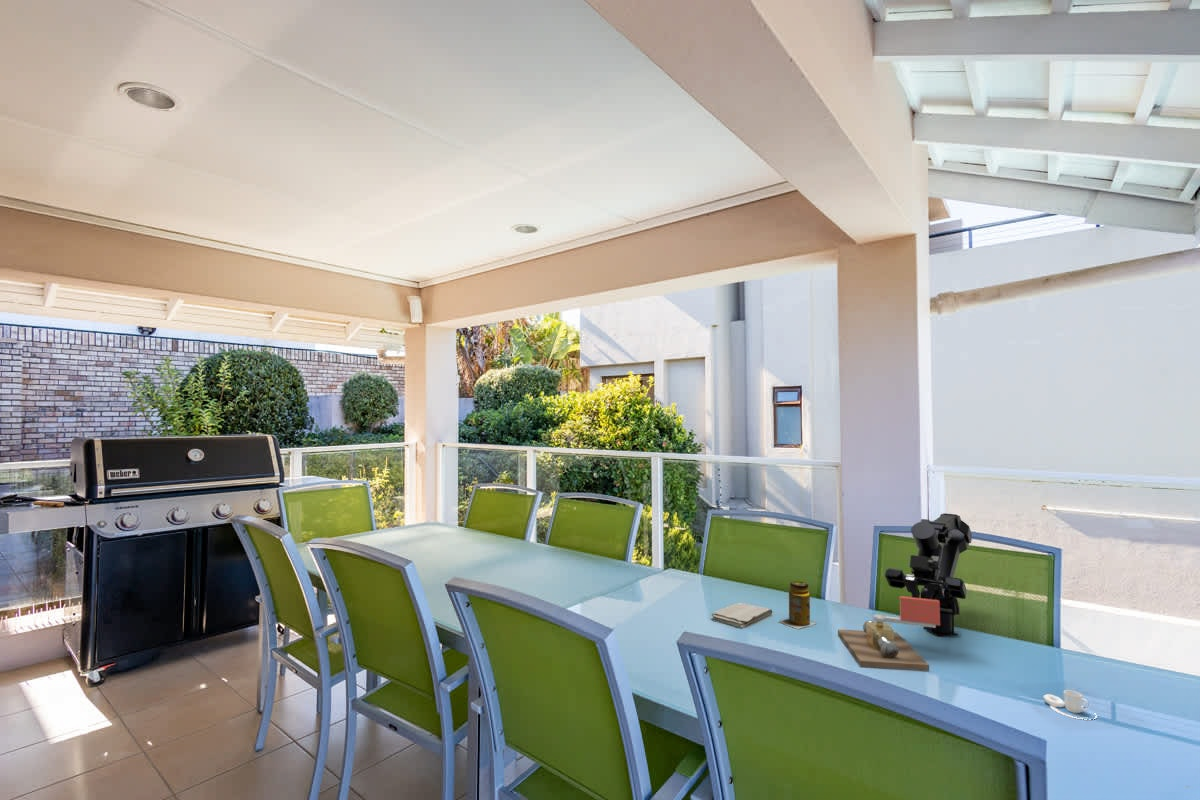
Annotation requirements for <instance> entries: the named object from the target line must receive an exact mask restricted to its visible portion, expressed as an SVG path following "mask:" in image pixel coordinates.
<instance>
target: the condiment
mask: <svg viewBox="0 0 1200 800" xmlns="http://www.w3.org/2000/svg"><path fill="white" fill-rule="evenodd" d="M789 585H790V587H789V591H788V618H785V619H782V620H779V621H778V622H779V623H781V624H783V625H786V626H788V627H791V628H794V629H796V630H800V629H802V628H803V629H804V628H806V627H807V628H808V627H811V626H813V625H817V623H816V622H812V621H811V614H810V613H811V609H810V608H811V602H810V600H811V599H810V598H811V597H810V592H809V583H807V582H805V581H797V580H795V581H794V580H793V581H791V582H790V583H789Z"/></svg>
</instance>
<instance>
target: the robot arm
mask: <svg viewBox="0 0 1200 800" xmlns="http://www.w3.org/2000/svg"><path fill="white" fill-rule="evenodd" d="M910 532H911V534H912V538H913V541H914V543H915V545H916V547H917V548H918V551H917V552H918V553H917V555H912V554H911V555H910V558H909V568H910V569H911V570H910V572H911V574H907V573H906V574H904V572H903V570H902V569H898V568H891V567H889V568H887V569H885V574H884V577H885V579H886V581H887V584H888V585H889V587H892V588H895V589H896V588H897V589H904V588H906V590H907V591H906V592H908V593H910V594H911V597H913V598H923V599H932V600H939V602H940V626H939V625H936V628H933V627H925V626H923V629H924V630H925V631H927V632H929V633H931V634H933V635H934V636H937V637H950V636H951V637H952V636H959V633H958V632H956V631H955V616H959V615H960V612H961V611H960V605H959V604H960V603H959V601H958V600H959V599H962V600H965V599H967V591H968V590H967V587H966V584H965V581H964V580H963V579H962V578H958V577H954V576H955V573H956V569H957V564H958V560H959V557H960V554H961V553H964V552H965V551H967V550H968V548H969V546H970V544H971V543H972V541H973V536H972V530H971V527H970V525H969V524H967V523H966V522H965V521H963V520H962V519H961V516H960V515H958V514H954V513H944V512H943V513H940V515H939V517H937V518H936V519H934V520H930V519H925V518H921V519H920V522H919V521H918V522H917V523H914V524H913V525H912V526H911V528H910ZM919 586H921V587H922V588H921V590H919Z"/></svg>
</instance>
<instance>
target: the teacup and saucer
mask: <svg viewBox="0 0 1200 800" xmlns="http://www.w3.org/2000/svg"><path fill="white" fill-rule="evenodd" d="M1083 696H1084V695H1083V694H1082V693H1080V692H1078V691H1075V690H1073V689H1072V690H1071V689H1065V690H1063V698H1064V699H1062V698H1061V697H1060V696H1057V695H1055V694H1050V693H1047V694H1044V695H1043V700H1044V702H1046V704H1048V705H1049V708H1050V709H1052V711H1054V712H1056V713H1058V714H1060V715H1063V716H1064V717H1067V718H1071V719H1075V718H1076V720H1080V719H1082V721H1094V719H1095V720H1097V719H1098V717H1097V716H1098V714H1097V713H1096V712H1095V713H1094V714H1095V715H1096V714H1097V715H1096V716H1095V718H1094V719H1093V720H1091V719H1089V720H1087V719H1084V720H1083V718H1084V717H1080V718H1077V717H1078V716H1074V717H1073V715H1070V714H1067V713H1065V712H1062V711H1061V710H1059V709H1057V708H1060V709H1061V708H1064V707H1065V708H1066V710H1067V711H1068V712H1070V713H1074V714H1080V713H1081V712H1084V711H1086V709H1087V708H1088V709H1089V701H1088V700H1087V699H1086V698H1083ZM1083 701H1084V702H1085V703H1086V706H1085V707H1086V708H1085V709H1082V707H1083ZM1096 718H1097V719H1096Z"/></svg>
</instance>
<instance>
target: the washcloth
mask: <svg viewBox="0 0 1200 800" xmlns="http://www.w3.org/2000/svg"><path fill="white" fill-rule="evenodd" d="M772 615H773V609H770V608H767V607H763V606H757V605H752V604H749V603H744V602H737V603H735V604H731V605H728V606H726V607H724V608H721V609H719V610H716V611H713V612H712V613H711V616H712V617H711V621H715V622H718V623H721V624H724V625H728V626H731V627H735V628H738V629H745V628H748V627H751V626H753V625H755V624H758V623H759V622H761V621H763V620H766V619H767V618H770V617H771V616H772Z"/></svg>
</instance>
